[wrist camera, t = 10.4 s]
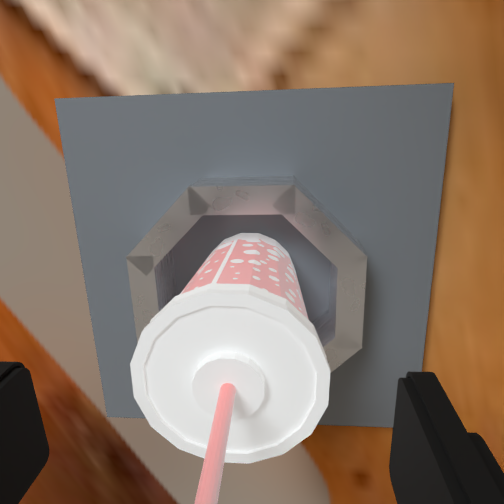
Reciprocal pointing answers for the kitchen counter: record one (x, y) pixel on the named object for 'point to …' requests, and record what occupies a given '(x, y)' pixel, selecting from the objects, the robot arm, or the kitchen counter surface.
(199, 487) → the beverage cup
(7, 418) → the robot arm
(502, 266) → the kitchen counter surface
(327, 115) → the plate
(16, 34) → the kitchen counter surface
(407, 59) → the kitchen counter surface
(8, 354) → the kitchen counter surface
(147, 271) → the steel collar
